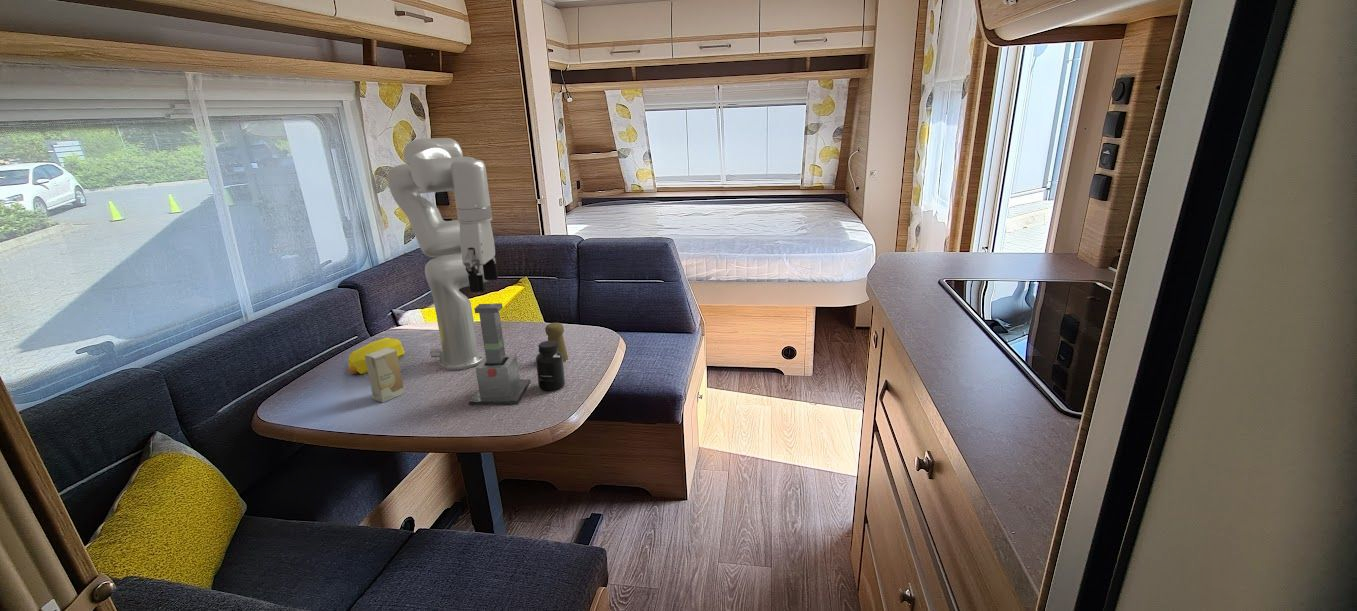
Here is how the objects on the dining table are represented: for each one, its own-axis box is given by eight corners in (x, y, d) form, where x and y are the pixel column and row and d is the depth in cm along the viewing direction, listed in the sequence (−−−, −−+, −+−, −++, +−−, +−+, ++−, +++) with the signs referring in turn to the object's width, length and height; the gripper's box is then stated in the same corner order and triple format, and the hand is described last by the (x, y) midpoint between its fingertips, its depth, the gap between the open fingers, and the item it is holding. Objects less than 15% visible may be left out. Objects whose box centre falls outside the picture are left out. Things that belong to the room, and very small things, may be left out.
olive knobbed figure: (563, 364, 162) (559, 328, 159) (543, 363, 163) (539, 327, 160) (571, 355, 168) (567, 320, 164) (552, 354, 169) (548, 320, 166)
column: (484, 372, 142) (474, 308, 137) (489, 365, 146) (479, 303, 140) (506, 371, 142) (497, 308, 137) (510, 365, 145) (502, 303, 140)
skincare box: (382, 403, 143) (372, 358, 139) (372, 399, 145) (362, 355, 141) (406, 393, 148) (397, 349, 144) (396, 389, 150) (387, 346, 147)
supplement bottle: (542, 394, 145) (537, 351, 141) (536, 384, 150) (530, 342, 147) (569, 388, 148) (564, 345, 144) (561, 378, 153) (556, 337, 150)
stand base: (469, 405, 140) (463, 372, 138) (485, 383, 152) (481, 352, 149) (517, 404, 140) (513, 370, 137) (530, 382, 152) (526, 351, 149)
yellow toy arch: (341, 375, 161) (361, 379, 158) (336, 353, 159) (356, 357, 156) (394, 351, 176) (412, 354, 173) (390, 331, 174) (408, 334, 171)
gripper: (472, 208, 140) (481, 275, 145) (443, 222, 124) (455, 297, 129) (502, 208, 140) (510, 275, 145) (477, 221, 123) (488, 296, 129)
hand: (484, 285), depth 137 cm, fingers open, 9 cm apart
